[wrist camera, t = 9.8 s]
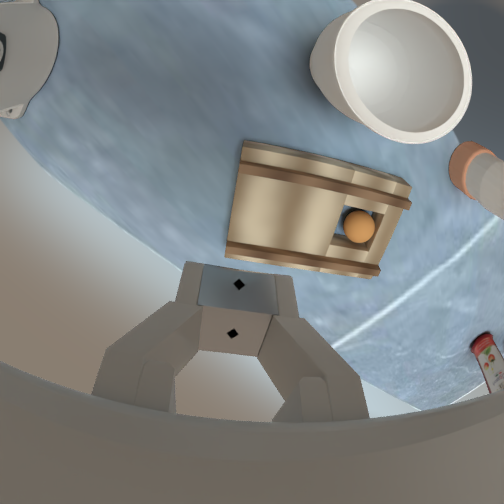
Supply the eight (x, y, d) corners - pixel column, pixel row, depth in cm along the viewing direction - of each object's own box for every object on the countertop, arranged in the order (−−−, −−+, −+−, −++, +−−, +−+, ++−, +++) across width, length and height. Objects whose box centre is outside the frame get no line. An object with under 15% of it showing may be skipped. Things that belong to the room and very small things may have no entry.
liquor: (469, 353, 57) (504, 444, 34) (467, 341, 53) (507, 440, 30) (491, 338, 54) (530, 427, 31) (491, 325, 51) (535, 421, 28)
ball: (335, 229, 38) (343, 246, 34) (345, 202, 35) (354, 217, 32) (362, 234, 38) (372, 251, 35) (372, 208, 36) (384, 223, 32)
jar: (384, 25, 22) (464, 10, 10) (395, 109, 28) (473, 144, 16) (291, 26, 24) (318, -8, 11) (306, 114, 29) (343, 150, 17)
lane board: (226, 243, 39) (223, 263, 36) (243, 140, 31) (242, 149, 28) (365, 266, 41) (373, 284, 37) (402, 178, 33) (416, 191, 30)
